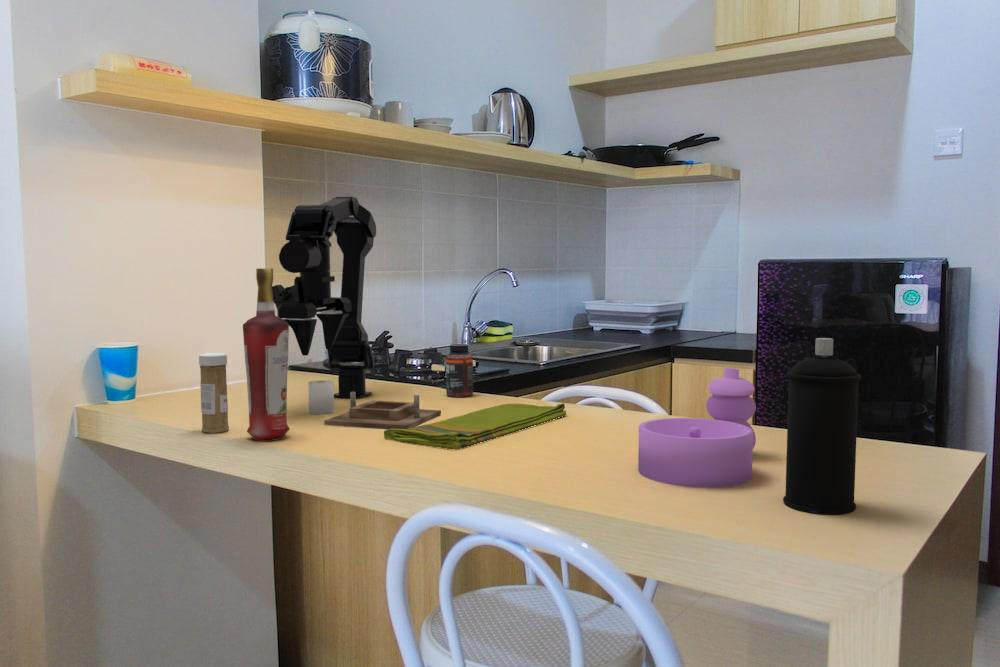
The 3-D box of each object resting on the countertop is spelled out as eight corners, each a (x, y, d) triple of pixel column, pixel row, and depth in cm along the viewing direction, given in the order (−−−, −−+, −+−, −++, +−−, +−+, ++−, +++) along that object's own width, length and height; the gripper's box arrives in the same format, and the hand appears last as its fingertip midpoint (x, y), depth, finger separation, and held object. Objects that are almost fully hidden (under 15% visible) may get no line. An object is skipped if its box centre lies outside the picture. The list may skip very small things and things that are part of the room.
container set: (727, 494, 106) (730, 390, 105) (619, 476, 115) (620, 380, 114) (788, 457, 126) (790, 370, 125) (691, 444, 135) (693, 363, 134)
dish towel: (380, 442, 139) (380, 423, 138) (501, 411, 168) (501, 395, 168) (455, 454, 130) (455, 434, 130) (568, 419, 160) (568, 402, 159)
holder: (365, 410, 166) (365, 385, 166) (441, 414, 161) (440, 389, 161) (324, 424, 151) (324, 398, 151) (406, 430, 146) (405, 402, 146)
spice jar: (233, 431, 145) (231, 353, 144) (208, 434, 142) (205, 355, 141) (221, 427, 148) (219, 351, 147) (196, 430, 145) (194, 353, 144)
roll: (317, 409, 167) (316, 379, 166) (338, 411, 165) (338, 380, 165) (304, 413, 162) (303, 382, 162) (326, 415, 161) (325, 383, 160)
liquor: (261, 432, 144) (257, 268, 142) (299, 434, 142) (296, 268, 140) (236, 440, 137) (232, 268, 135) (276, 443, 135) (272, 268, 133)
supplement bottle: (473, 393, 187) (473, 343, 187) (473, 397, 182) (472, 345, 181) (446, 393, 187) (446, 343, 186) (445, 397, 181) (445, 345, 180)
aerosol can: (857, 518, 95) (863, 342, 94) (780, 510, 98) (785, 340, 97) (855, 499, 103) (861, 336, 101) (784, 492, 106) (789, 334, 104)
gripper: (302, 269, 172) (304, 345, 174) (250, 272, 154) (253, 357, 156) (351, 269, 169) (353, 347, 170) (304, 273, 151) (307, 359, 153)
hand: (317, 352), depth 162 cm, fingers open, 9 cm apart
